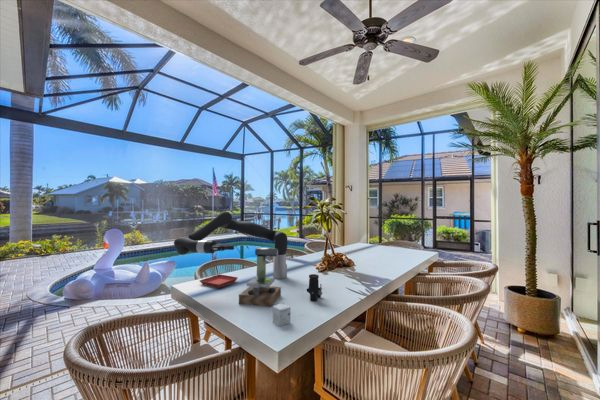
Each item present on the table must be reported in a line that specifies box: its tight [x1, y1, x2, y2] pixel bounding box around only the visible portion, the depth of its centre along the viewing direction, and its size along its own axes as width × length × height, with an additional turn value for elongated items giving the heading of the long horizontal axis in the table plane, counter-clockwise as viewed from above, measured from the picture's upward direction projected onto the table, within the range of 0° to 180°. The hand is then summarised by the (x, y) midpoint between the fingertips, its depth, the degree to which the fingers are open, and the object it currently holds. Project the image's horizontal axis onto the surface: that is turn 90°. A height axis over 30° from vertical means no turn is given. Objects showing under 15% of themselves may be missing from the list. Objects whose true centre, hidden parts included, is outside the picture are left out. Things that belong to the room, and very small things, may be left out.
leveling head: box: [246, 247, 278, 288], centre depth 147 cm, size 15×13×22 cm
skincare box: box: [272, 302, 292, 327], centre depth 119 cm, size 6×6×7 cm
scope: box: [306, 273, 323, 303], centre depth 148 cm, size 8×14×10 cm
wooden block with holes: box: [238, 285, 282, 308], centre depth 147 cm, size 18×18×9 cm
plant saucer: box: [199, 273, 239, 289], centre depth 176 cm, size 18×18×3 cm
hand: (233, 247), depth 151 cm, fingers closed
